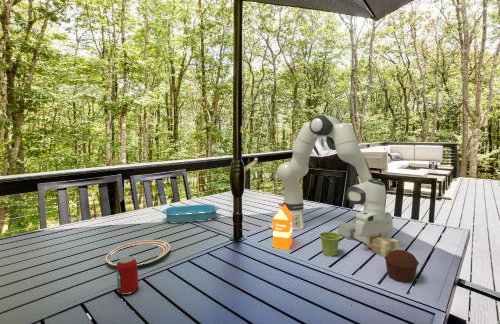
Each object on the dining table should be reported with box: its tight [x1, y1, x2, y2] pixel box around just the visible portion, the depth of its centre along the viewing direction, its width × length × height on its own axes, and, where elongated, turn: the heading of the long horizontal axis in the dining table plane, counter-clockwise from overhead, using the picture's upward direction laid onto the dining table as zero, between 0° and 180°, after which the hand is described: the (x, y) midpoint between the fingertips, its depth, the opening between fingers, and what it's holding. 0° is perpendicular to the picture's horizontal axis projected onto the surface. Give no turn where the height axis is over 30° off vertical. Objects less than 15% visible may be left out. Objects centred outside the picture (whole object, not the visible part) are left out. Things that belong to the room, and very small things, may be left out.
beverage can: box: [115, 256, 139, 294], centre depth 99 cm, size 7×7×12 cm
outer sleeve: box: [337, 222, 356, 241], centre depth 149 cm, size 7×8×6 cm
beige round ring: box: [105, 239, 171, 267], centre depth 128 cm, size 27×27×3 cm
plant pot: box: [319, 231, 342, 257], centre depth 128 cm, size 9×9×9 cm
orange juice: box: [272, 204, 293, 251], centre depth 137 cm, size 8×9×20 cm
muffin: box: [383, 249, 420, 284], centre depth 106 cm, size 12×11×10 cm
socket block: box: [372, 235, 400, 258], centre depth 127 cm, size 8×7×6 cm
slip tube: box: [351, 230, 381, 250], centre depth 138 cm, size 4×19×6 cm, turn 22°
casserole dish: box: [161, 203, 220, 223], centre depth 186 cm, size 37×22×7 cm, turn 105°
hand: (374, 242), depth 133 cm, fingers closed on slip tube, 4 cm apart
